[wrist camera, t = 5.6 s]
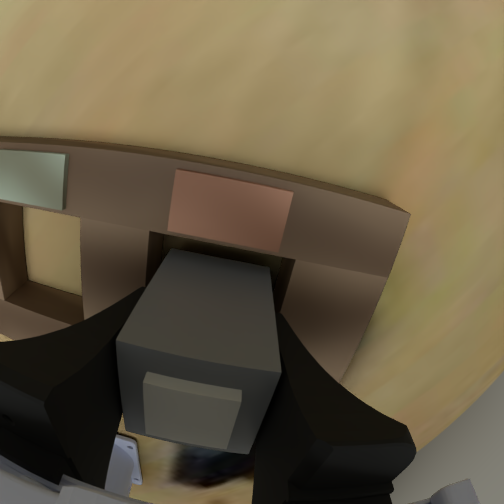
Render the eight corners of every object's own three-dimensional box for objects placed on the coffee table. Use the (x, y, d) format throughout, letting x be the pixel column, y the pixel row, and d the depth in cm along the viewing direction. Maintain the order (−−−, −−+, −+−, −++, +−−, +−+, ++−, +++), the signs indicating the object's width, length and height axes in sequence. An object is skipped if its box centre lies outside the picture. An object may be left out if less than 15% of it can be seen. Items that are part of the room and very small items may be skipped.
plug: (249, 344, 14) (247, 463, 8) (164, 327, 14) (122, 439, 8) (269, 267, 13) (282, 384, 7) (171, 248, 12) (109, 350, 6)
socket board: (316, 380, 17) (323, 415, 14) (-7, 301, 15) (-30, 322, 13) (386, 199, 13) (414, 216, 10) (-19, 136, 11) (-52, 142, 9)
